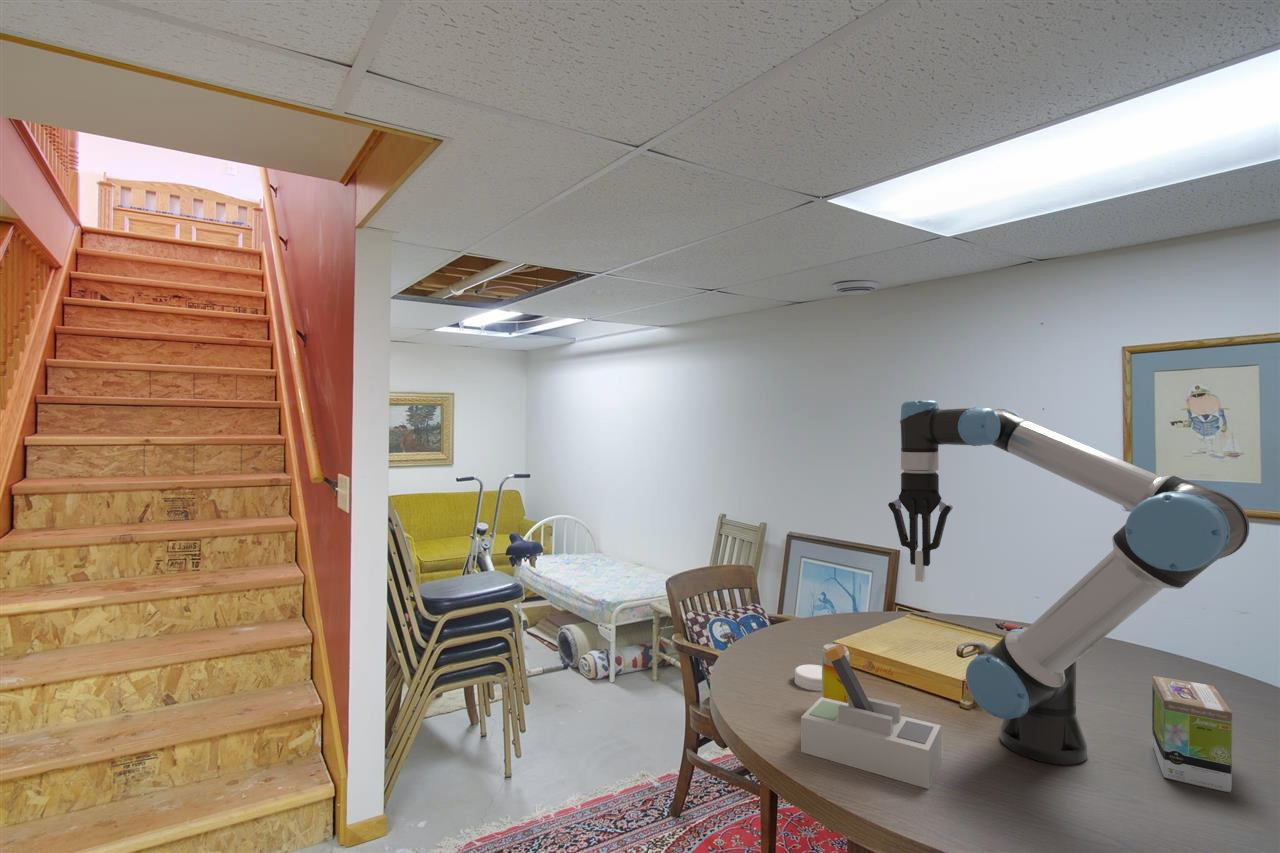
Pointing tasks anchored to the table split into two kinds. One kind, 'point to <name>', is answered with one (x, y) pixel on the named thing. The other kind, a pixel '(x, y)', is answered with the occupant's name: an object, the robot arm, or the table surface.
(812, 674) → the white short cylinder
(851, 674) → the lever
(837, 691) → the beer can
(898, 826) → the table surface
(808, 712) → the breaker block
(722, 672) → the table surface
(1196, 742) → the tea box
